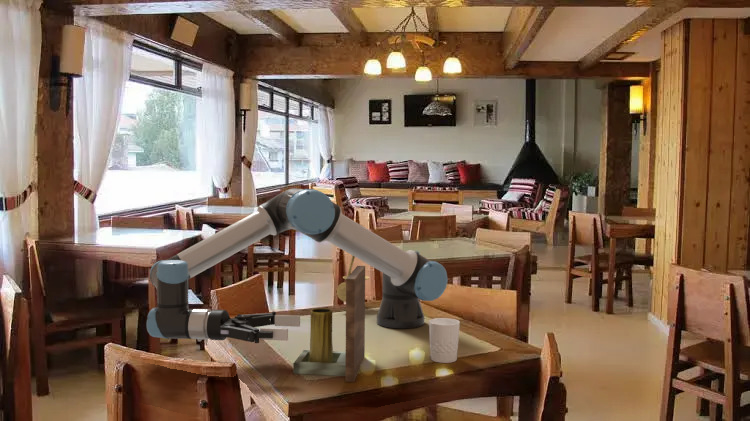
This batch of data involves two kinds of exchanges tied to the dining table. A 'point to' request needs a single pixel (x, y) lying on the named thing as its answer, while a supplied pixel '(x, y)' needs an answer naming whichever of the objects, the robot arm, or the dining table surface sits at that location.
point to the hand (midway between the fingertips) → (294, 327)
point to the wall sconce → (342, 287)
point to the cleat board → (355, 336)
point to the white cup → (444, 339)
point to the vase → (321, 336)
